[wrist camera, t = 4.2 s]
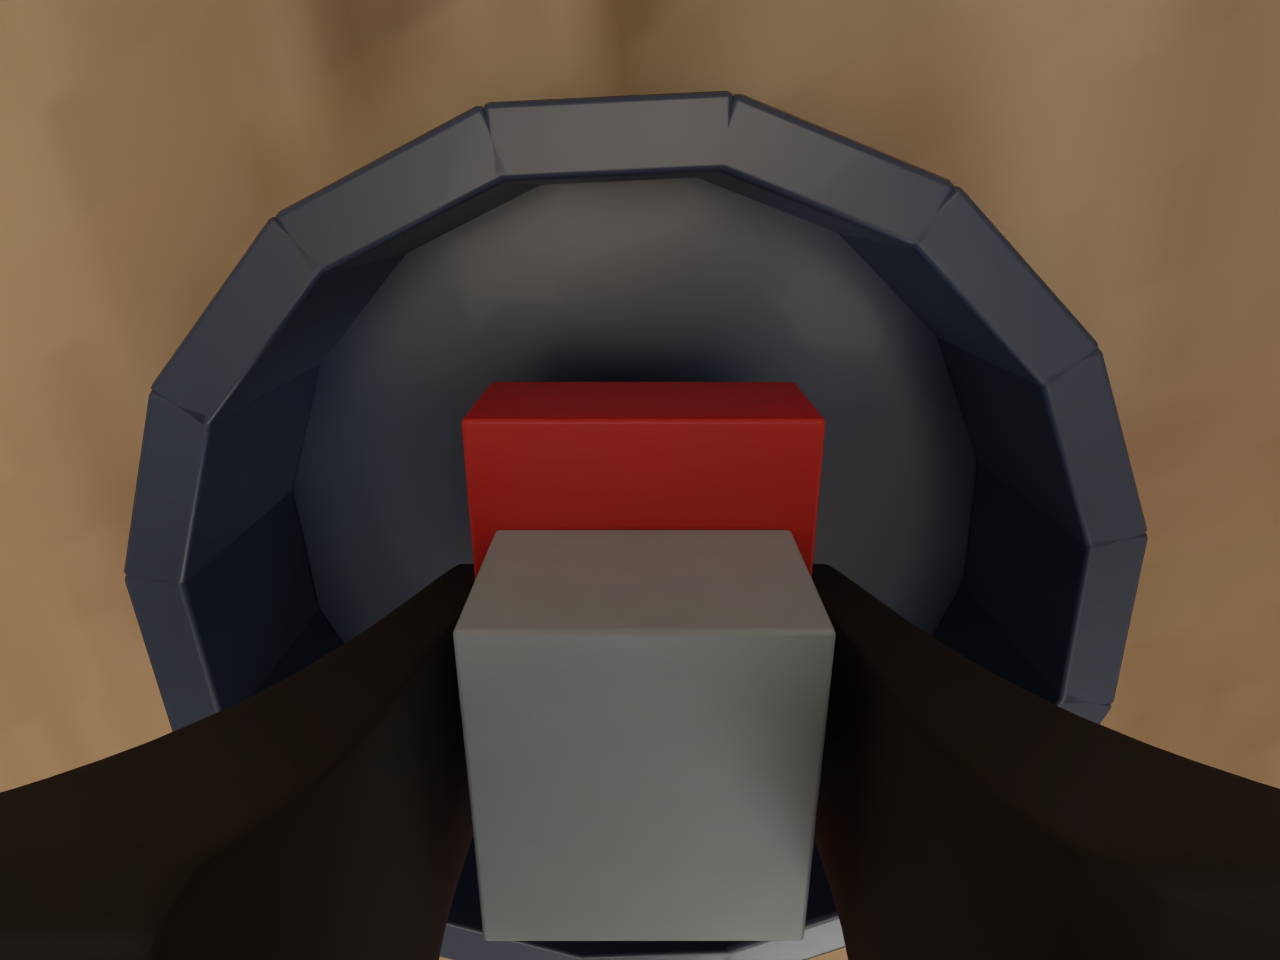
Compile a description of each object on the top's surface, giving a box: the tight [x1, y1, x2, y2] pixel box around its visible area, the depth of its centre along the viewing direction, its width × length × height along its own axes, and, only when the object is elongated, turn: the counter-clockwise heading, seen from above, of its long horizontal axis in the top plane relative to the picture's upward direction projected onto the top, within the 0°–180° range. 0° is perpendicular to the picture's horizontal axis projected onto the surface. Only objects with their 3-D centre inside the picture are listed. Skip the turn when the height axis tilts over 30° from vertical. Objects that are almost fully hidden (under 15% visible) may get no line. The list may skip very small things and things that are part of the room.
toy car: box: [453, 382, 836, 941], centre depth 10 cm, size 7×4×5 cm, turn 0°
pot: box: [124, 91, 1148, 960], centre depth 12 cm, size 14×14×4 cm
